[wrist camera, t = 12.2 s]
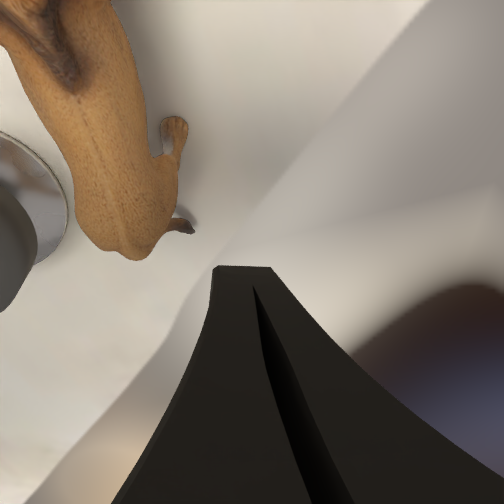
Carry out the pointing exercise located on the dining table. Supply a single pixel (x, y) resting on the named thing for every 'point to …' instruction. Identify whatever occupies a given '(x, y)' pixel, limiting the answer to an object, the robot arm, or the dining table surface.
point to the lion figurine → (97, 119)
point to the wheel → (14, 247)
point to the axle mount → (34, 193)
